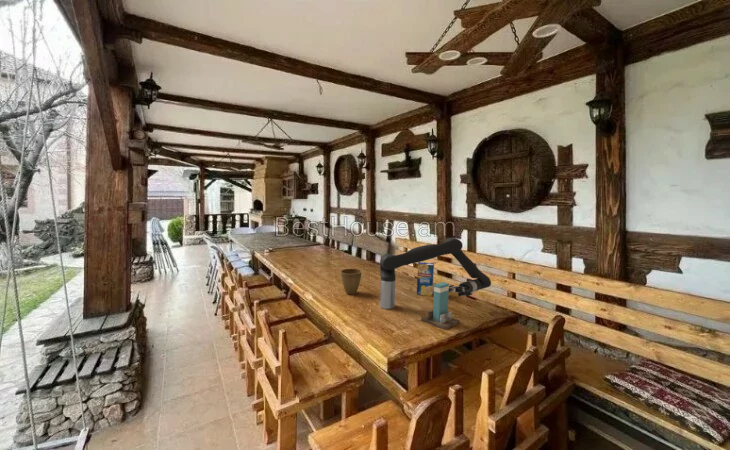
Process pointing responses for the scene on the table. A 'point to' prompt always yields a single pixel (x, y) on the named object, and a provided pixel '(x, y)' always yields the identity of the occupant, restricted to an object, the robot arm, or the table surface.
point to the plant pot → (351, 280)
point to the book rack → (441, 320)
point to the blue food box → (425, 278)
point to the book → (440, 300)
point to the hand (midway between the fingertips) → (452, 292)
